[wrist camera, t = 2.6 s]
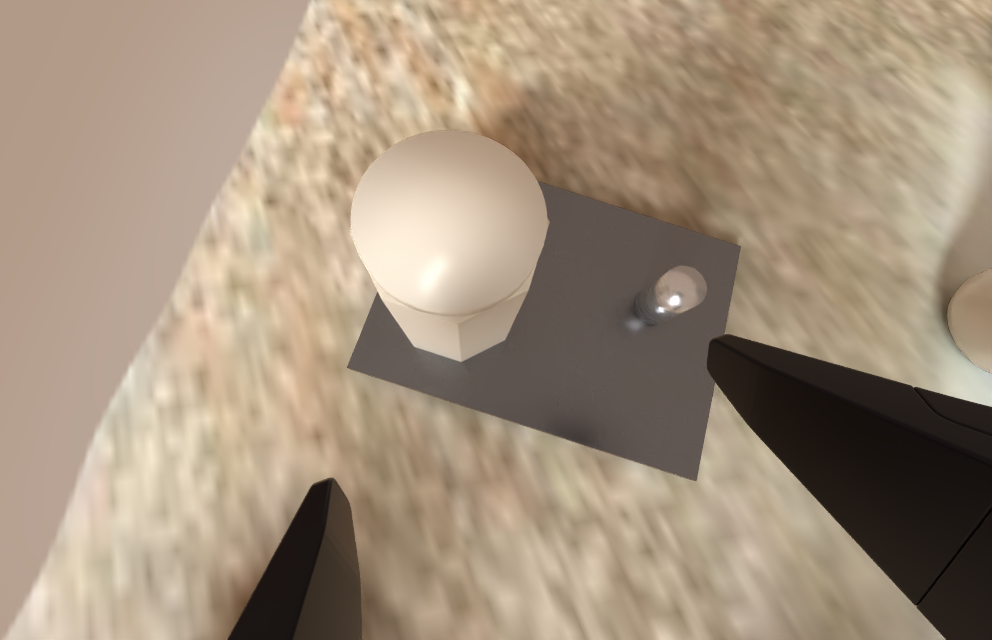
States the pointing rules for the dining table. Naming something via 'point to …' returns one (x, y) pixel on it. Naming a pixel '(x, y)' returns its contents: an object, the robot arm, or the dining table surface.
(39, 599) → the dining table surface
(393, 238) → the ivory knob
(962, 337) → the plastic bottle
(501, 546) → the dining table surface
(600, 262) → the plate
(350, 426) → the dining table surface
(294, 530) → the robot arm
